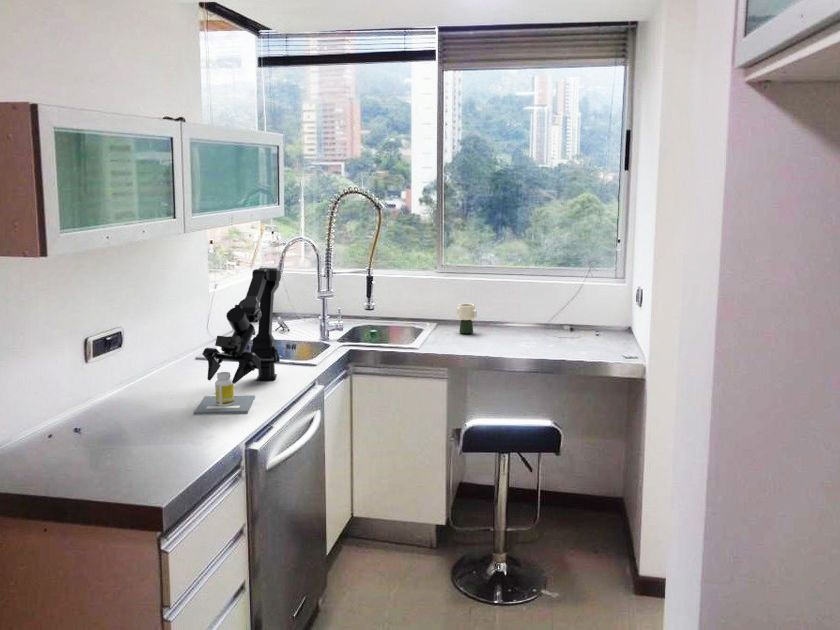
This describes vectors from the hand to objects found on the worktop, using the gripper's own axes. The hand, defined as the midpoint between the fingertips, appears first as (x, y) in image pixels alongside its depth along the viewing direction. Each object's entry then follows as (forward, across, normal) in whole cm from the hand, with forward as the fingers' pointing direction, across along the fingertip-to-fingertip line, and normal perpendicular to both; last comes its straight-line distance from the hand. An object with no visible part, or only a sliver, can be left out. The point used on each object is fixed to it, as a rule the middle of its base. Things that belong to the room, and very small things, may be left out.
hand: (220, 381), depth 237 cm
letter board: (+4, 0, +8) cm, 9 cm away
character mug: (-86, +34, +99) cm, 136 cm away
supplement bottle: (+4, 0, +7) cm, 8 cm away
